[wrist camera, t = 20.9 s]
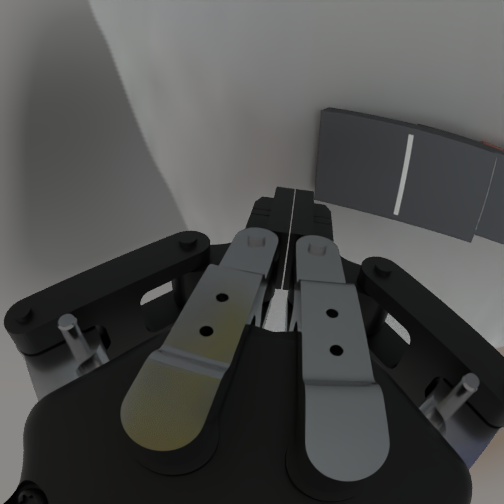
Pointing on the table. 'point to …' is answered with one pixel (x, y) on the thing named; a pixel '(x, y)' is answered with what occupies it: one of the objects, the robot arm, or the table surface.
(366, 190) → the black domino
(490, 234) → the black domino
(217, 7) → the table surface
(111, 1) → the table surface
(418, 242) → the table surface
